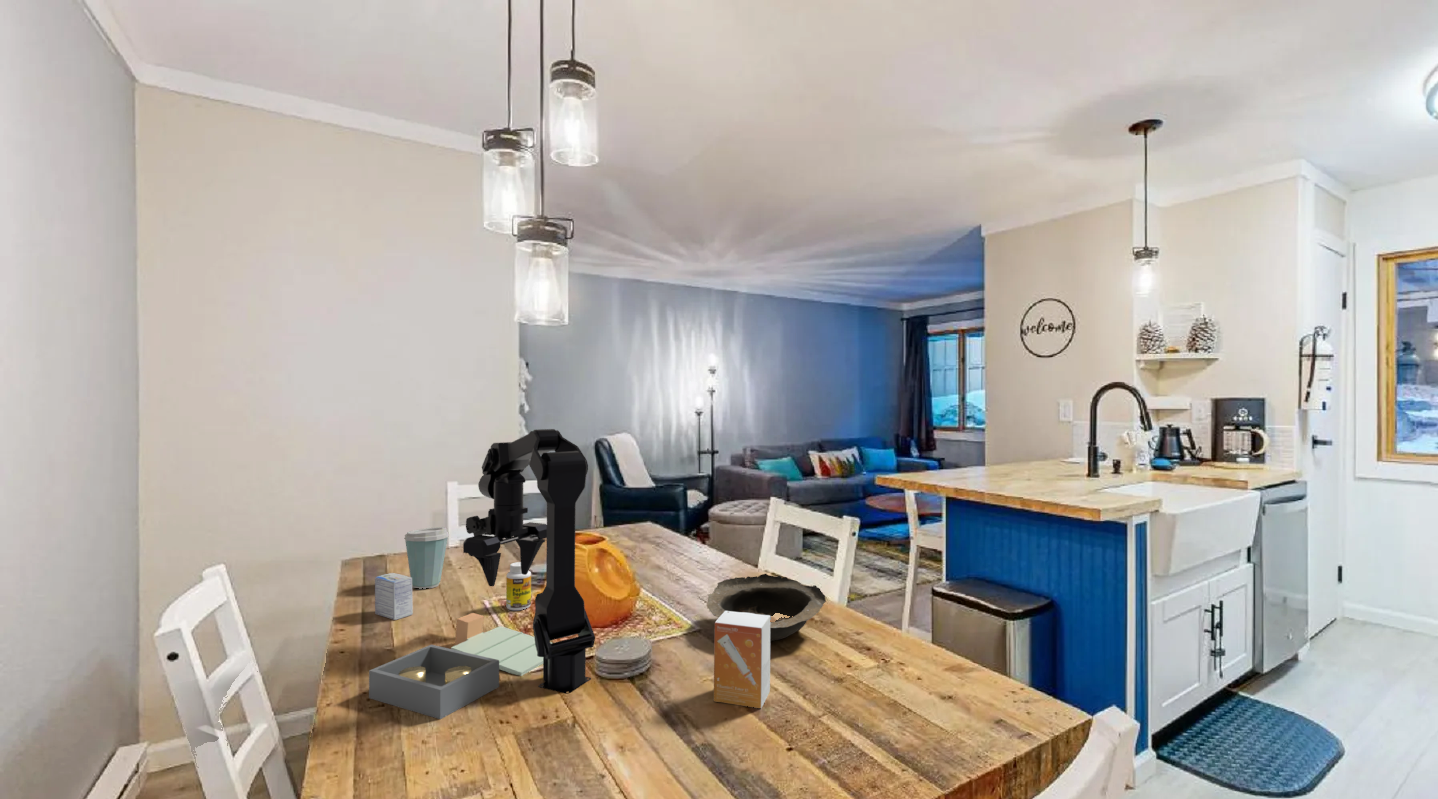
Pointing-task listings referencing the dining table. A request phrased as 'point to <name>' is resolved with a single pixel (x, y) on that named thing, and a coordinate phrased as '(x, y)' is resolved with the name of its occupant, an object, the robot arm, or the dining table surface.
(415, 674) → the brass part
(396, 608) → the medicine box
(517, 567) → the supplement bottle
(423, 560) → the disposable coffee cup
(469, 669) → the brass part
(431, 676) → the tub
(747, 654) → the small box
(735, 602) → the stone bowl
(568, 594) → the robot arm
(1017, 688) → the dining table surface
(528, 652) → the lid
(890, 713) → the dining table surface
